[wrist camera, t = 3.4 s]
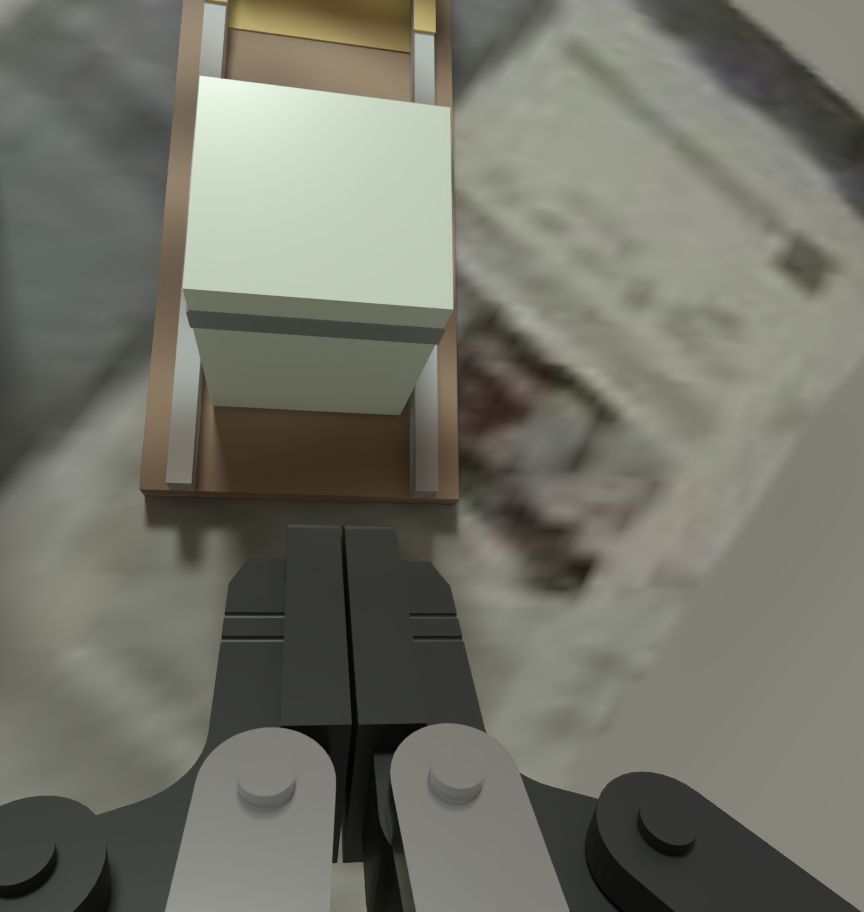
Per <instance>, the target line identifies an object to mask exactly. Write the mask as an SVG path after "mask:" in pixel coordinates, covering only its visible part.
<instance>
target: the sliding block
mask: <svg viewBox="0 0 864 912" xmlns="http://www.w3.org/2000/svg"><path fill="white" fill-rule="evenodd" d="M183 292H184V296H185V300H186V314H187V318H188V322H189V326H190V328H193V331H194V335H195V339H196V343H197V347H198V351H199V355H200V359H201V363H202V367H203V371H204V375H205V379H206V382H207V386H208V390H209V394H210V398H211V402H212V406H226V407H246V408H265V409H285V410H304V411H324V412H344V413H363V414H383V415H400V414H401V412H402V410H403V408H404V406H405V404H406V402H407V400H408V398H409V396H410V394H411V392H412V391H413V389H414V387H415V385H416V383H417V381H418V379H419V377H420V375H421V373H422V371H423V369H424V367H425V365H426V363H427V361H428V359H429V357H430V355H431V353H432V351H433V349H434V347H435V345H438V344H439V342H440V340H441V338H442V336H443V334H444V332H445V331H446V328H445V325H446V323H447V321H448V319H449V317H450V315H451V313H452V311H453V256H452V191H451V127H450V107H442V106H434V105H427V104H419V103H411V102H403V101H395V100H387V99H379V98H371V97H364V96H356V95H348V94H340V93H332V92H324V91H316V90H308V89H301V88H293V87H285V86H277V85H269V84H261V83H253V82H245V81H238V80H230V79H222V78H214V77H206V76H200V78H199V91H198V103H197V115H196V128H195V140H194V153H193V165H192V177H191V190H190V202H189V214H188V227H187V239H186V252H185V264H184V276H183Z"/></svg>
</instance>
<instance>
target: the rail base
mask: <svg viewBox="0 0 864 912" xmlns="http://www.w3.org/2000/svg"><path fill="white" fill-rule="evenodd" d="M200 76H206V77H214V78H222V79H230V80H238V81H245V82H253V83H261V84H269V85H277V86H285V87H293V88H301V89H308V90H316V91H324V92H332V93H340V94H348V95H356V96H364V97H371V98H379V99H387V100H395V101H403V102H411V103H419V104H427V105H434V106H442V107H450V127H451V191H452V256H453V311H452V313H451V315H450V317H449V319H448V321H447V323H446V325H445V328H446V331H445V332H444V334H443V336H442V338H441V340H440V342H439V344H438V345H435V347H434V349H433V351H432V353H431V355H430V357H429V359H428V361H427V363H426V365H425V367H424V369H423V371H422V373H421V375H420V377H419V379H418V381H417V383H416V385H415V387H414V389H413V391H412V392H411V394H410V396H409V398H408V400H407V402H406V404H405V406H404V408H403V410H402V412H401V414H400V415H383V414H363V413H344V412H324V411H304V410H285V409H265V408H246V407H226V406H212V402H211V398H210V394H209V390H208V386H207V382H206V379H205V375H204V371H203V367H202V363H201V359H200V355H199V351H198V347H197V343H196V339H195V335H194V331H193V328H190V326H189V322H188V318H187V314H186V300H185V296H184V292H183V276H184V264H185V252H186V239H187V227H188V214H189V202H190V190H191V177H192V165H193V153H194V140H195V128H196V115H197V103H198V91H199V78H200ZM139 489H140V491H141V492H142V493H143V494H144V495H155V496H188V497H221V498H255V499H288V500H322V501H355V502H388V503H422V504H454V503H455V502H456V501H458V500H459V468H458V407H457V346H456V286H455V225H454V164H453V103H452V42H451V0H183V9H182V20H181V31H180V42H179V54H178V65H177V76H176V87H175V98H174V109H173V120H172V132H171V143H170V154H169V165H168V176H167V187H166V198H165V210H164V221H163V232H162V243H161V254H160V265H159V276H158V288H157V299H156V310H155V321H154V332H153V343H152V354H151V366H150V377H149V388H148V399H147V410H146V421H145V432H144V444H143V455H142V466H141V477H140V488H139Z"/></svg>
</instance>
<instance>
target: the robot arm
mask: <svg viewBox="0 0 864 912" xmlns="http://www.w3.org/2000/svg"><path fill="white" fill-rule="evenodd" d="M456 614H457V613H456V609H455V605H454V600H453V596H452V592H451V588H450V585H449V584H448V583H447V582H446V581H445V580H444V578H443V577H442V576H441V575H440V574H439V572H438V571H437V570H436V569H435V568H434V567H433V565H432V564H431V563H430V562H401V561H400V555H399V549H398V543H397V537H396V531H395V528H394V527H387V526H345V525H343V529H342V536H341V537H340V526H339V525H312V524H288V539H287V560H261V559H248V560H247V561H246V562H245V564H244V565H243V566H242V567H241V569H240V570H239V571H238V573H237V574H236V575H235V576H234V578H233V579H232V580H231V581H230V583H229V586H228V593H227V601H226V608H225V618H224V623H223V630H222V640H221V645H220V652H219V659H218V667H217V674H216V681H215V689H214V696H213V703H212V711H211V718H210V725H209V733H208V737H207V741H206V744H205V747H204V749H203V751H202V754H201V755H200V757H199V758H198V760H197V761H196V763H195V764H194V765H193V767H192V768H191V769H190V770H189V771H188V772H187V773H186V774H185V775H184V776H183V777H182V778H181V779H180V780H178V781H177V782H176V783H174V784H173V785H172V786H170V787H169V788H167V789H166V790H164V791H162V792H160V793H158V794H156V795H154V796H152V797H150V798H147V799H145V800H142V801H140V802H137V803H134V804H130V805H127V806H124V807H121V808H118V809H115V810H112V811H109V812H106V813H102V814H99V815H95V814H94V813H93V812H92V811H91V810H90V809H89V808H88V807H86V806H84V805H83V804H81V803H79V802H77V801H74V800H71V799H69V798H64V797H58V796H36V797H28V798H24V799H20V800H16V801H12V802H10V803H7V804H5V805H2V806H0V912H329V911H330V892H331V873H332V863H337V859H338V850H339V840H340V831H341V830H342V854H343V863H351V862H363V863H364V879H365V894H366V906H367V912H861V911H859V910H858V909H857V908H855V907H854V906H853V905H851V904H850V903H848V902H847V901H845V900H844V899H843V898H841V897H840V896H839V895H837V894H836V893H835V892H833V891H832V890H831V889H829V888H828V887H826V886H825V885H824V884H822V883H821V882H820V881H818V880H817V879H815V878H814V877H813V876H811V875H810V874H809V873H807V872H806V871H805V870H803V869H802V868H801V867H799V866H798V865H796V864H795V863H794V862H792V861H791V860H790V859H788V858H787V857H785V856H784V855H783V854H781V853H780V852H779V851H777V850H776V849H775V848H773V847H772V846H770V845H769V844H768V843H766V842H765V841H763V840H762V839H761V838H759V837H758V836H757V835H755V834H754V833H753V832H751V831H750V830H748V829H747V828H746V827H744V826H743V825H742V824H740V823H739V822H737V821H736V820H735V819H733V818H732V817H731V816H729V815H728V814H727V813H725V812H724V811H723V810H721V809H720V808H718V807H717V806H716V805H714V804H713V803H712V802H710V801H709V800H707V799H706V798H705V797H703V796H702V795H701V794H699V793H698V792H697V791H695V790H694V789H692V788H690V787H689V786H687V785H686V784H684V783H682V782H680V781H678V780H676V779H674V778H671V777H668V776H665V775H661V774H657V773H652V772H631V773H628V774H624V775H621V776H619V777H617V778H615V779H613V780H612V781H611V782H610V783H608V784H607V785H606V787H605V788H604V789H603V791H602V792H601V794H600V797H599V799H596V798H593V797H589V796H585V795H581V794H577V793H574V792H570V791H566V790H562V789H559V788H555V787H551V786H548V785H545V784H542V783H539V782H537V781H534V780H532V779H530V778H528V777H526V776H525V775H523V774H521V773H520V772H519V770H518V767H517V765H516V763H515V761H514V759H513V758H512V756H511V755H510V753H509V752H508V751H507V750H506V749H505V748H504V747H503V746H502V744H500V743H499V742H498V741H497V740H495V739H494V738H493V737H491V736H490V735H488V734H487V733H486V730H485V728H484V724H483V720H482V715H481V711H480V707H479V703H478V699H477V695H476V691H475V687H474V683H473V678H472V674H471V670H470V666H469V662H468V658H467V654H466V650H465V646H464V642H462V633H461V629H460V625H459V621H458V619H457V618H456Z"/></svg>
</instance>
